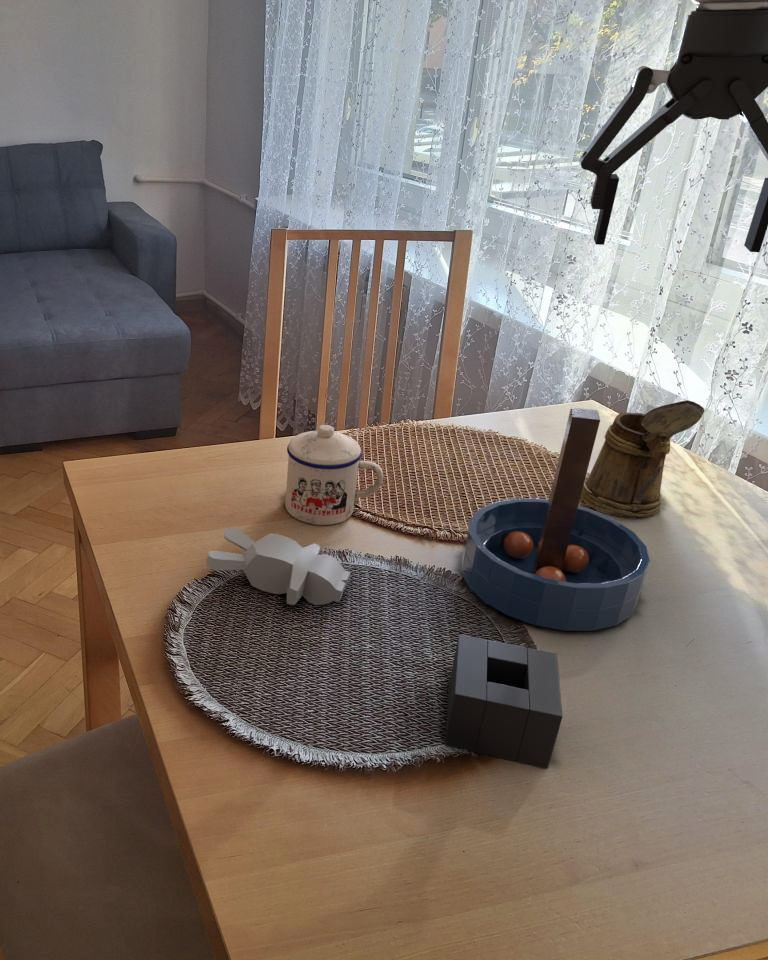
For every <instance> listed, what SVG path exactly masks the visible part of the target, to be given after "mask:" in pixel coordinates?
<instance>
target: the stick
mask: <svg viewBox="0 0 768 960" xmlns="http://www.w3.org/2000/svg"><path fill="white" fill-rule="evenodd" d="M600 417H601V416H600V412H599V410H597V409H589V408H579V407H570V409H569V413H568V417H567V422H566V426H565V431H564V434H563V440H562V443H561V448H560V452H559V456H558V459H557V465H556V469H555V473H554V477H553V481H552V486H551V490H550V494H549V497H548V500H549V502H548V506H547V511H546V515H545V519H544V523H543V527H542V532H541V536H540V540H539V544H538V548H537V553H536V557H535V561H534V565H533V574H535V573H536V571H537V570H538V569H540V568H542V567H545V566H553V567H556V568H558V569H560V570H561V571H562V567H563V563H564V559H565V556H566V552H567V548H568V544H569V540H570V536H571V532H572V528H573V524H574V521H575V517H576V513H577V509H578V506H580V501H581V493H582V489H583V486H584V482H585V481H586V479H587V473H588V470H589V466H590V461H591V458H592V453H593V451H594V446H595V442H596V439H597V435H598V431H599V428H600V423H601V418H600Z"/></svg>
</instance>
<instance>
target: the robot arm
mask: <svg viewBox="0 0 768 960" xmlns="http://www.w3.org/2000/svg"><path fill="white" fill-rule="evenodd" d="M691 2H692V3H693V4H697V6H696V7H695V10H691V11H690V14H687V16H686V21H685V24H684V29H683V32H682V37H681V40H680V44H679V48H678V53H677V57H676V59H675V62H674V64H673V65H672V67H671V68H670V69H669V70H666V69H658V68H657V69H656V68H651V67H649V66H646V65H641V66H639V67H638V68H637V69H636V71H635V73H634V76H633V79H632V82H631V85H630V87H629V90H628V92H627V93H626V94H625V96H624V97H623V98H622V100H621V101H620V103H619V104H618V105H617V106H616V108H615V109H614V110H613V112H612V113H611V114H610V116H609V118H608V119H607V120H606V121H605V123H604V124H603V125H602V127H601V128H600V129H599V131H598V132H597V134H596V135H595V136H594V138H593V140H591V142H590V143H589V144H588V146H587V147H586V149H585V150H584V152H583V153H582V154H581V156H580V157H579V159H578V163H579V165H580V168H581V169H583V170H585V171H589V172H591V173H593V174H594V176H595V178H594V182H593V187H592V190H591V191H592V192H591V195H590V200H589V203H590V207H591V209H592V210H599V212H598V217H597V222H596V226H595V229H594V233H593V240H594V244H595V245H598V246H601V245H602V246H604V245H605V242H606V238H607V234H608V229H609V225H610V221H611V217H612V212H613V207H614V203H615V199H616V196H617V191H618V186H619V182H620V177H619V175H618V174H617V173H615V172H616V171H617V170H618V169H620V168H621V166H623V165H624V164H625V163H626V162H627V161H628V160H630V159H631V158H633V157H634V156H635V154H637V153H638V152H639V151H640V150H641V149H642V148H644V147H645V146H646V145H647V144H648V143H649V142H651V141H652V140H653V139H654V138H656V137H657V136H658V135H659V134H660V133H661V132H662V131H663V130H665V129H666V128H667V127H668V126H669V125H672V124H673V123H674V122H675V121H677V120H678V119H679V118H680V117H681V116H684V117H685V118H688V119H690V120H704V119H708V118H713V119H716V120H730V119H731V118H734V117H736V116H739V118H740V120H741V121H742V122H743V123H744V125H745V127H746V128H747V130H748V132H749V133H750V134H751V136H752V137H753V140H754V141H755V143H756V144H757V145H758V147H759V148H760V151H761V152H762V154H763V155H764V157H765V159H766V160H767V161H768V120H767V117H765V114H764V112H763V110H762V109H761V107H760V105H759V104H758V102H757V100H756V99H757V98H758V97H759V96H760V95H761V94H762V93H763V92H764V91H765V90H766V89H767V88H768V0H691ZM662 84H665V86H666V87H667V89H668V91H669V93H670V95H671V98H670V99H669V100H667V102H666V103H665V104H663V105H662V106H661V107H660V108H659V109H658V110H657V111H656V113H654V114H653V115H652V116H651V117H650V118H648V119H647V121H645V122H644V123H643V124H642V125H641V126H640V127H638V129H636V130H635V131H634V132H633V133H631V134H630V135H629V136H628V137H627V138H626V139H625V140H624V141H622V142H621V143H620V144H619V145H618V146H617V147H616V148H614V149H613V150H612V151H611V152H610V153H609V154H608V155H606V156H605V157H604V158H603V159H602V158H601V157H602V155H603V154H604V153H605V152H606V150H607V149H608V147H609V146H610V145H611V144H612V143H613V141H614V140H615V138H616V137H617V136H618V135H619V133H620V131H621V130H622V129H623V128H624V126H625V125H626V124H627V122H628V121H629V119H630V118H631V117H632V116H633V114H634V113H635V112H636V110H637V109H638V108H639V106H640V105H641V104H642V102H643V101H644V99H645V97H646V95H647V94H652V93H654V92H656V90H657V89H658V87H659V86H660V85H662ZM767 230H768V177H764V180H763V183H762V186H761V190H760V192H759V196H758V199H757V203H756V206H755V209H754V212H753V215H752V218H751V222H750V225H749V228H748V232H747V235H746V238H745V241H744V245H743V246H744V247H745V248H746V250H748V251H749V252H750V253H760V252H761V249H762V246H763V243H764V240H765V237H766V233H767Z"/></svg>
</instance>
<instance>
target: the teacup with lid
mask: <svg viewBox="0 0 768 960" xmlns="http://www.w3.org/2000/svg"><path fill="white" fill-rule="evenodd" d="M286 452H287V455H288V459H287V472H286V473H287V474H286V489H285V490H286V491H285V503H284V504H285V508H286V512H288V513H289V514H290V515H291V516H292V517H293V518H295V519H296V520H297V521H298V520H299V521H301V522H303V523H305V524H310V525H317V526H331V525H336V524H340V523H342V522H345V521H346V520H348V519H349V518H350V517H351V516H352V515H353V513H354V510H355V509H354V508H355V499H356V498H357V499H364V498H369V497H371V496H373V495H375V494H376V493H377V492H378V491H379V490H380V488H381V486H382V485H383V482H384V472H383V469H382V467H381V466H380V465H379V464H377V463H376V462H373V461H370V460H361V459H362V454H363V452H362V449H361V446H360V444H359V443H358V441H356V439H354V438H352V437H351V436H349V435H347V434H345V433H342V432H338V431H335V428H334V426H332V425H329V424H321V425H319V426H318V427H317V430H310V431H304V432H301V433H299V434H297V435H295V436H294V437H292V439H290V441H289V442H288V445H287V448H286ZM359 469H367V470H371V471H373V472H374V473H375V474H376V475H377V478H376V480H375V482H374V483H373V484H372V485H371V486H370V487H368V488H365V489H357V482H358V473H359Z"/></svg>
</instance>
